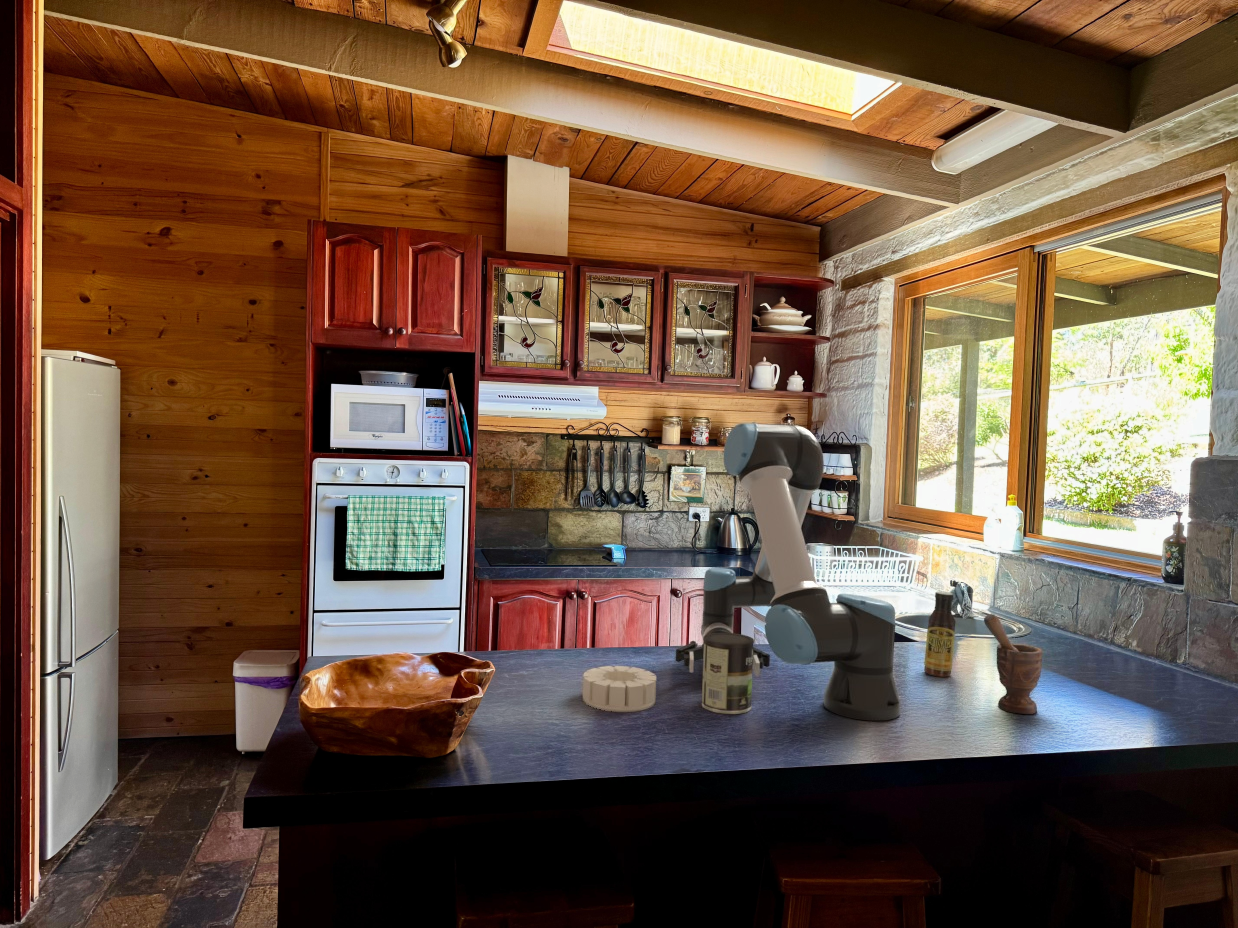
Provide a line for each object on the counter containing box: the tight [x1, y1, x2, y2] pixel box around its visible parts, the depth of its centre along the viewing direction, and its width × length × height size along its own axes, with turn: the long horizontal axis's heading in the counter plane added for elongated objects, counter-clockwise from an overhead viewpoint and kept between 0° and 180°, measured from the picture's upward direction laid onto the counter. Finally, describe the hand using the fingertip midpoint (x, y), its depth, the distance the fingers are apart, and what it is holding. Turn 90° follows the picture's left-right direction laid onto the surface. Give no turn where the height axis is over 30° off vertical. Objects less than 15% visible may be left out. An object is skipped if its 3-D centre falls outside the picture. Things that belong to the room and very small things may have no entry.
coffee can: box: [701, 632, 755, 715], centre depth 168 cm, size 10×10×14 cm
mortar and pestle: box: [983, 613, 1043, 715], centre depth 172 cm, size 12×9×20 cm
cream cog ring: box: [581, 665, 657, 713], centre depth 169 cm, size 15×15×5 cm
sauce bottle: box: [923, 591, 956, 678], centre depth 197 cm, size 7×6×20 cm
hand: (724, 667), depth 170 cm, fingers open, 13 cm apart
